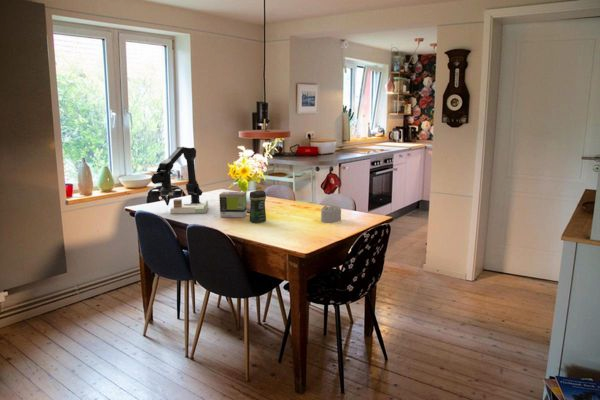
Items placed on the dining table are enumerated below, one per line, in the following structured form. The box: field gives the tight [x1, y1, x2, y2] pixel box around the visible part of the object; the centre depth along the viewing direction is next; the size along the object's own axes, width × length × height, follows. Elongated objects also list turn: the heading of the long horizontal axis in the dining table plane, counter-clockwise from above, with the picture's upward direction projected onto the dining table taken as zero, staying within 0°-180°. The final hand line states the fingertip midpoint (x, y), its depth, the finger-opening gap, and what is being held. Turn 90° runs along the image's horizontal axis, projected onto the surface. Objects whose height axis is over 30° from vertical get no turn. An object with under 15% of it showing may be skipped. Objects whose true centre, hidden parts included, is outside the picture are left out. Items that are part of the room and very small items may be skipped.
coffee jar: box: [248, 189, 267, 224], centre depth 279 cm, size 10×8×19 cm
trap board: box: [169, 200, 209, 215], centre depth 307 cm, size 16×22×5 cm
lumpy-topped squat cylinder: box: [320, 205, 342, 224], centre depth 282 cm, size 10×13×9 cm
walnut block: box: [173, 198, 183, 207], centre depth 306 cm, size 4×4×4 cm
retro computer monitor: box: [218, 191, 248, 218], centre depth 293 cm, size 15×10×15 cm
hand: (167, 205), depth 306 cm, fingers closed
